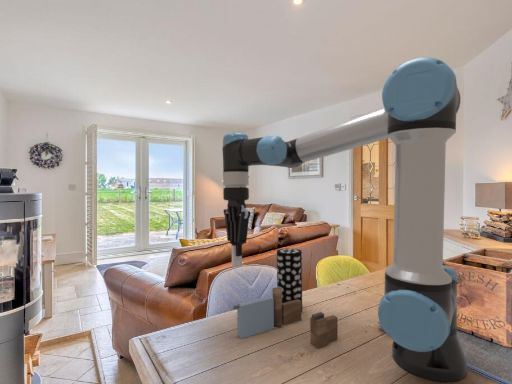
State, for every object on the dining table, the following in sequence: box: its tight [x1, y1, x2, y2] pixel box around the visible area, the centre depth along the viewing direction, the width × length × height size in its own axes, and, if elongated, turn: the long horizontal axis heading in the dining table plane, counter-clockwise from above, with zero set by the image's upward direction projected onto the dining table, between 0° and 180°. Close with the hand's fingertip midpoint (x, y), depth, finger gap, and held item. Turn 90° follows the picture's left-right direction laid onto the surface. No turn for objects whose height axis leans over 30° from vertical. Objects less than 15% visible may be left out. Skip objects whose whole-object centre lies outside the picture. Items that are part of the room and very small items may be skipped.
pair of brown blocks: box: [272, 287, 339, 349], centre depth 85 cm, size 17×10×11 cm, turn 31°
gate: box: [232, 295, 275, 340], centre depth 85 cm, size 12×2×9 cm, turn 121°
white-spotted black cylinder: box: [276, 248, 303, 313], centre depth 101 cm, size 8×8×20 cm
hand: (236, 266), depth 89 cm, fingers closed
